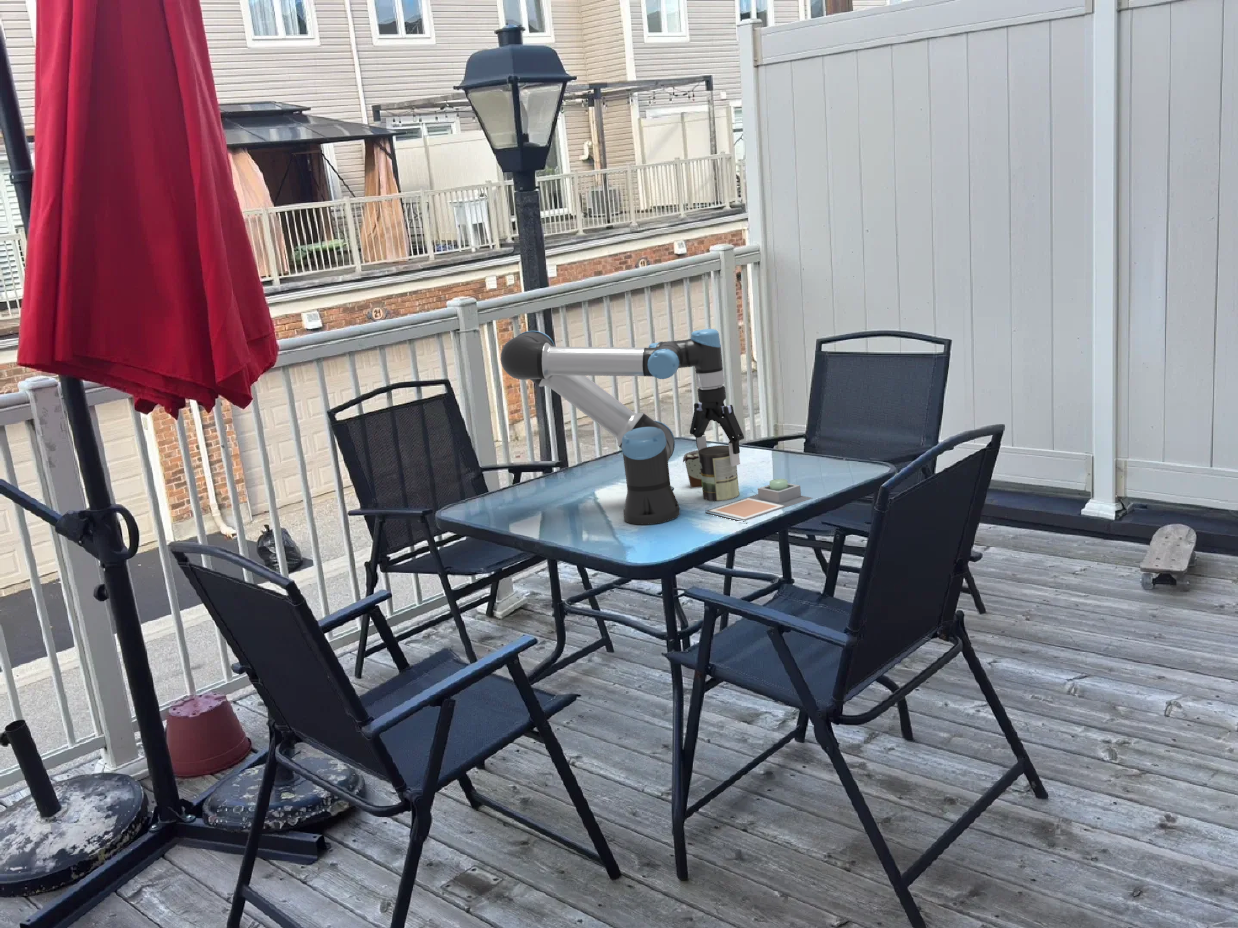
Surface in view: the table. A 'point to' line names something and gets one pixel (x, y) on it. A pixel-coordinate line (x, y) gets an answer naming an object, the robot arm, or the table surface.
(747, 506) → the pad with button box
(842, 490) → the table surface
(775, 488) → the button
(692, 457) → the food container
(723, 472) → the coffee can
